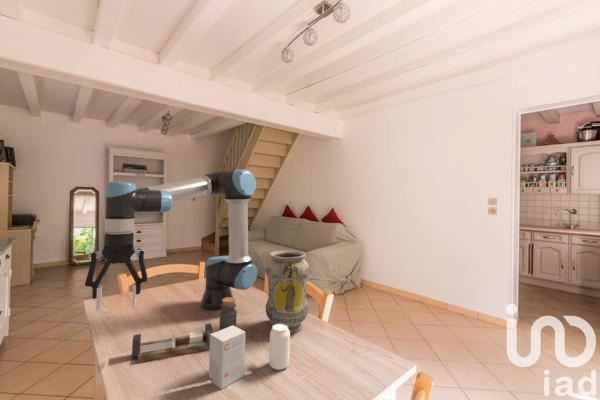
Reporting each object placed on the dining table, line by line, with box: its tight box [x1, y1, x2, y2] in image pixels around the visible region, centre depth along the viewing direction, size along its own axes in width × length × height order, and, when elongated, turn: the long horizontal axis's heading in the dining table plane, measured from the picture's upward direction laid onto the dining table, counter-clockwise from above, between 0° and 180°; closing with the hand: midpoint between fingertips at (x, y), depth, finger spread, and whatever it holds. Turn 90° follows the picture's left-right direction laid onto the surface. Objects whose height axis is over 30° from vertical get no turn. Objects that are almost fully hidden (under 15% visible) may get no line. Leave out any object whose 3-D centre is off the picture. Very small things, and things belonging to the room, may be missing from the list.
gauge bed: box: [137, 323, 215, 365], centre depth 92 cm, size 22×9×6 cm, turn 115°
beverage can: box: [268, 324, 291, 371], centre depth 86 cm, size 6×6×12 cm
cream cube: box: [188, 330, 203, 344], centre depth 94 cm, size 4×4×4 cm
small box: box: [208, 325, 246, 390], centre depth 79 cm, size 8×6×13 cm
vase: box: [265, 249, 310, 335], centre depth 113 cm, size 18×18×30 cm
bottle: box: [218, 297, 238, 331], centre depth 100 cm, size 6×6×15 cm
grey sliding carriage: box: [131, 333, 176, 360], centre depth 88 cm, size 12×7×6 cm, turn 115°
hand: (116, 306), depth 85 cm, fingers open, 8 cm apart
